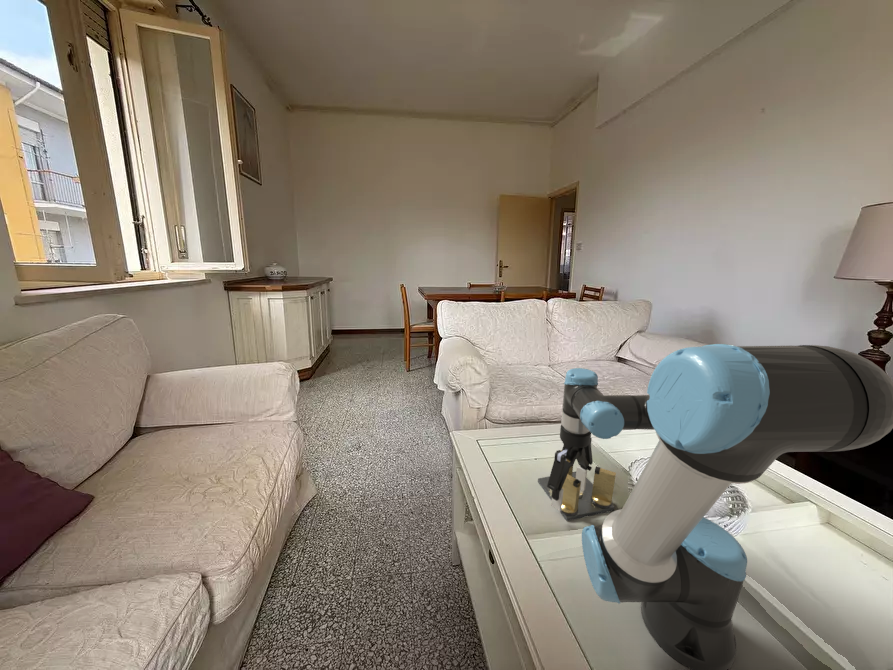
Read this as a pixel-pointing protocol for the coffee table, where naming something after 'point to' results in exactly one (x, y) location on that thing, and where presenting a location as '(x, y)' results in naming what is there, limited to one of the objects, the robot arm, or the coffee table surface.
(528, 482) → the coffee table surface
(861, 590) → the coffee table surface
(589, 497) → the plate
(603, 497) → the side knob
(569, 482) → the front knob
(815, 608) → the coffee table surface
